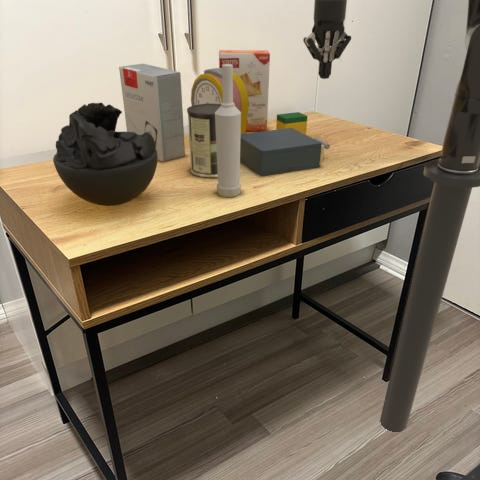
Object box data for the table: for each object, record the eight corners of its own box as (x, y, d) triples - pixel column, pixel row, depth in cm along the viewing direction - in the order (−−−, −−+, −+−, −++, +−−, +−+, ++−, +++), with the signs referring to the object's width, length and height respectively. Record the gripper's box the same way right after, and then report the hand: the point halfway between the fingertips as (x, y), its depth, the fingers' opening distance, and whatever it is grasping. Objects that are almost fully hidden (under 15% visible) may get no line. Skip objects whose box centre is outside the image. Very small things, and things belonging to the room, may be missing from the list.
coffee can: (234, 164, 125) (234, 103, 117) (231, 178, 117) (231, 114, 109) (193, 163, 126) (190, 102, 118) (187, 177, 118) (183, 113, 109)
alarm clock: (191, 138, 144) (187, 66, 133) (213, 132, 148) (211, 63, 138) (225, 149, 135) (224, 74, 124) (248, 143, 139) (249, 70, 129)
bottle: (245, 194, 109) (246, 65, 94) (224, 199, 107) (221, 68, 92) (233, 187, 113) (232, 62, 98) (212, 191, 110) (208, 64, 96)
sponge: (297, 133, 148) (298, 111, 144) (305, 138, 144) (307, 115, 140) (275, 136, 145) (276, 114, 142) (284, 141, 141) (285, 118, 138)
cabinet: (290, 150, 135) (291, 127, 131) (319, 167, 124) (321, 142, 120) (235, 157, 129) (235, 134, 126) (261, 176, 118) (262, 151, 115)
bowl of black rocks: (134, 178, 117) (123, 90, 106) (179, 206, 104) (172, 109, 93) (49, 198, 107) (27, 103, 96) (86, 231, 94) (66, 126, 83)
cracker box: (220, 132, 149) (218, 52, 136) (219, 126, 153) (218, 49, 141) (267, 132, 149) (270, 52, 137) (266, 126, 154) (268, 49, 142)
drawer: (309, 144, 135) (310, 129, 133) (337, 159, 125) (339, 143, 123) (245, 153, 129) (245, 138, 127) (269, 170, 119) (270, 153, 117)
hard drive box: (127, 149, 135) (117, 66, 124) (151, 143, 140) (143, 62, 128) (162, 162, 126) (155, 74, 115) (186, 156, 130) (181, 70, 119)
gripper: (315, -1, 115) (309, 83, 124) (363, -3, 119) (354, 78, 129) (298, -2, 120) (294, 78, 130) (345, -4, 125) (338, 73, 135)
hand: (324, 78), depth 129 cm, fingers closed
